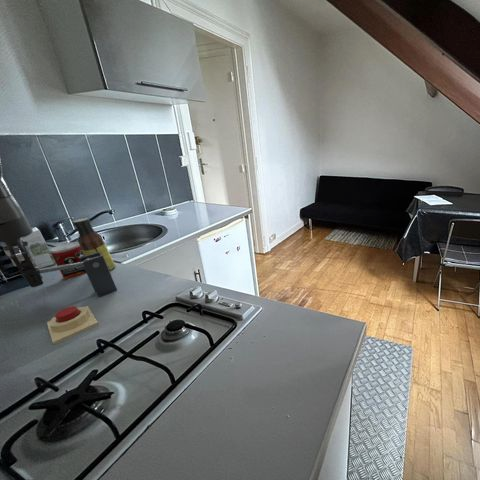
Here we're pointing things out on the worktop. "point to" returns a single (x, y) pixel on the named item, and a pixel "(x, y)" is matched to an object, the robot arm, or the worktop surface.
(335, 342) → the worktop surface
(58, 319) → the button
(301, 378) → the worktop surface
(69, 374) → the worktop surface
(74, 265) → the lever
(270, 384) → the worktop surface
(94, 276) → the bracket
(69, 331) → the button box
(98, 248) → the sauce bottle
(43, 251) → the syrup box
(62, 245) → the canned food
